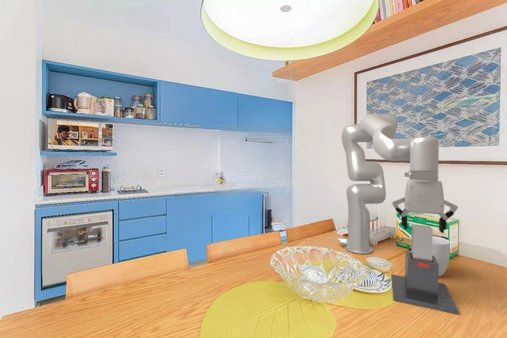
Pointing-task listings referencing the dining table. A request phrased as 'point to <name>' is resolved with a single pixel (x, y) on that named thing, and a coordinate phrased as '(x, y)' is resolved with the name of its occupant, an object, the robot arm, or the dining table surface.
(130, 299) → the dining table surface
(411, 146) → the robot arm
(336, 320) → the dining table surface
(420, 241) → the post
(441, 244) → the mug
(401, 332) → the dining table surface
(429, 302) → the stand
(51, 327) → the dining table surface
